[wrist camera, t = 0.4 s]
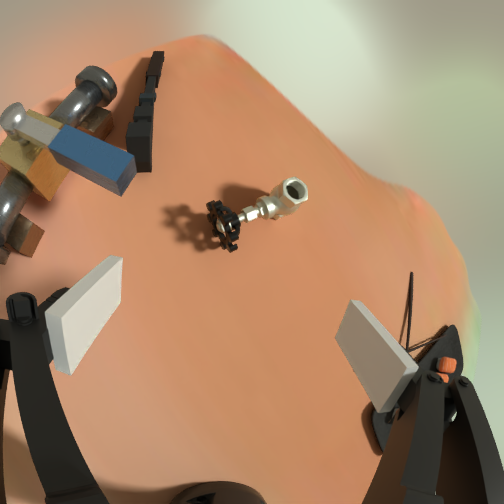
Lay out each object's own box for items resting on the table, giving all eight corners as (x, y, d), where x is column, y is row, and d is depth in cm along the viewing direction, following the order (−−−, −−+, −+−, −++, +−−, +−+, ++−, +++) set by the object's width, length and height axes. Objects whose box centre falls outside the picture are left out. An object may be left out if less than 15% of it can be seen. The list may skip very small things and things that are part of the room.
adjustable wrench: (163, 82, 43) (150, 182, 34) (149, 82, 43) (130, 182, 33) (167, 45, 36) (149, 136, 27) (151, 45, 35) (125, 137, 26)
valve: (276, 183, 40) (202, 212, 36) (295, 162, 34) (210, 192, 30) (297, 223, 40) (224, 257, 36) (320, 207, 34) (237, 246, 29)
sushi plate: (380, 458, 37) (392, 464, 33) (329, 334, 38) (344, 336, 35) (459, 369, 47) (471, 369, 43) (428, 255, 48) (442, 251, 45)
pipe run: (24, 272, 27) (-24, 256, 16) (-9, 246, 25) (-55, 223, 14) (122, 116, 35) (117, 60, 24) (86, 102, 33) (75, 49, 22)
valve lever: (5, 136, 18) (-5, 122, 15) (21, 115, 19) (13, 100, 16) (120, 198, 21) (114, 183, 19) (138, 171, 22) (135, 153, 19)
